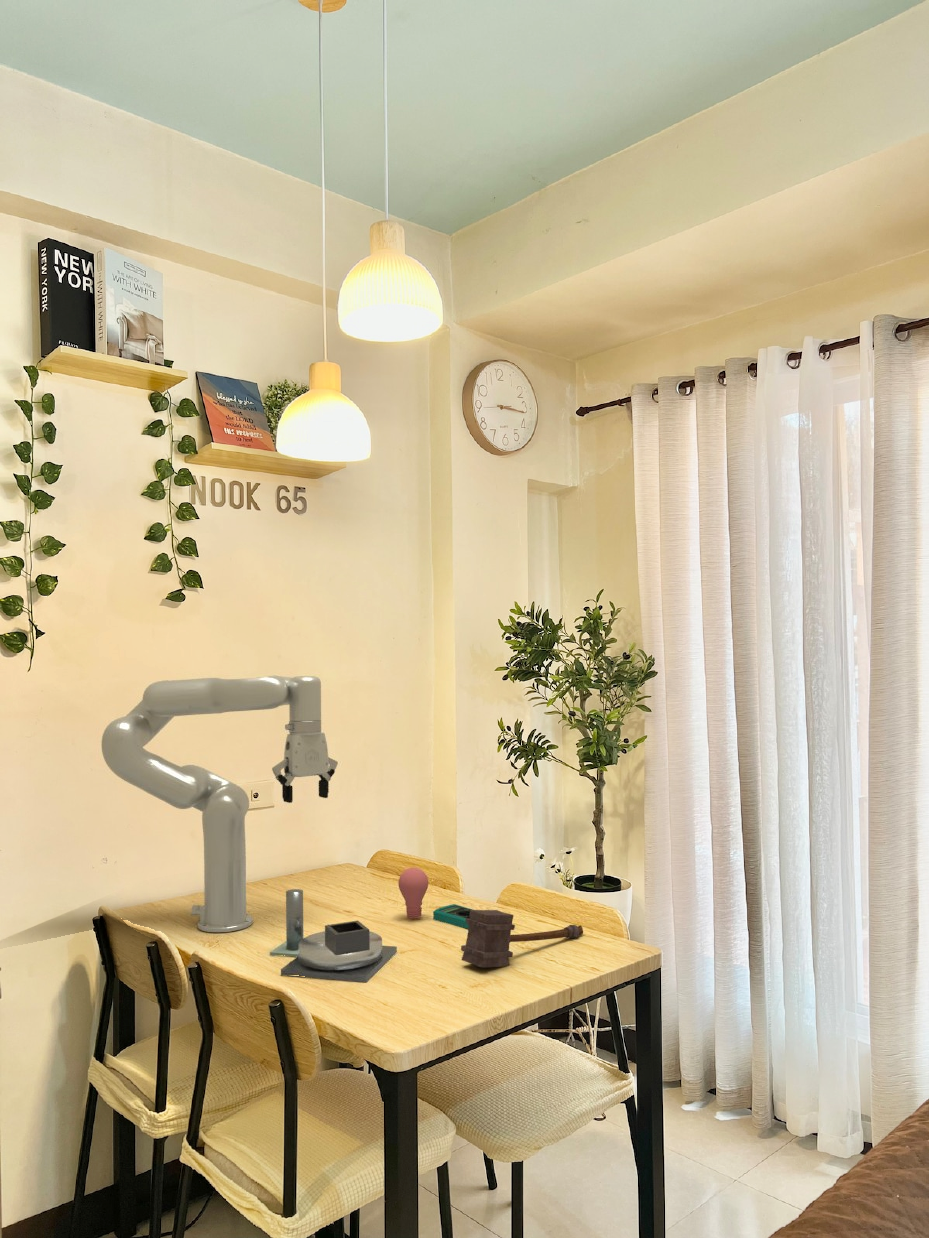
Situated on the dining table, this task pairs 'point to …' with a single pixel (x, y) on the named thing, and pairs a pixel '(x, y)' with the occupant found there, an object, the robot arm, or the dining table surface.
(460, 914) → the digital multimeter
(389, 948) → the base
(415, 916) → the light bulb
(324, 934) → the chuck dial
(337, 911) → the dining table surface
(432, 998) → the dining table surface
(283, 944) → the mat
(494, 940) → the hammer
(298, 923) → the chrome capsule
